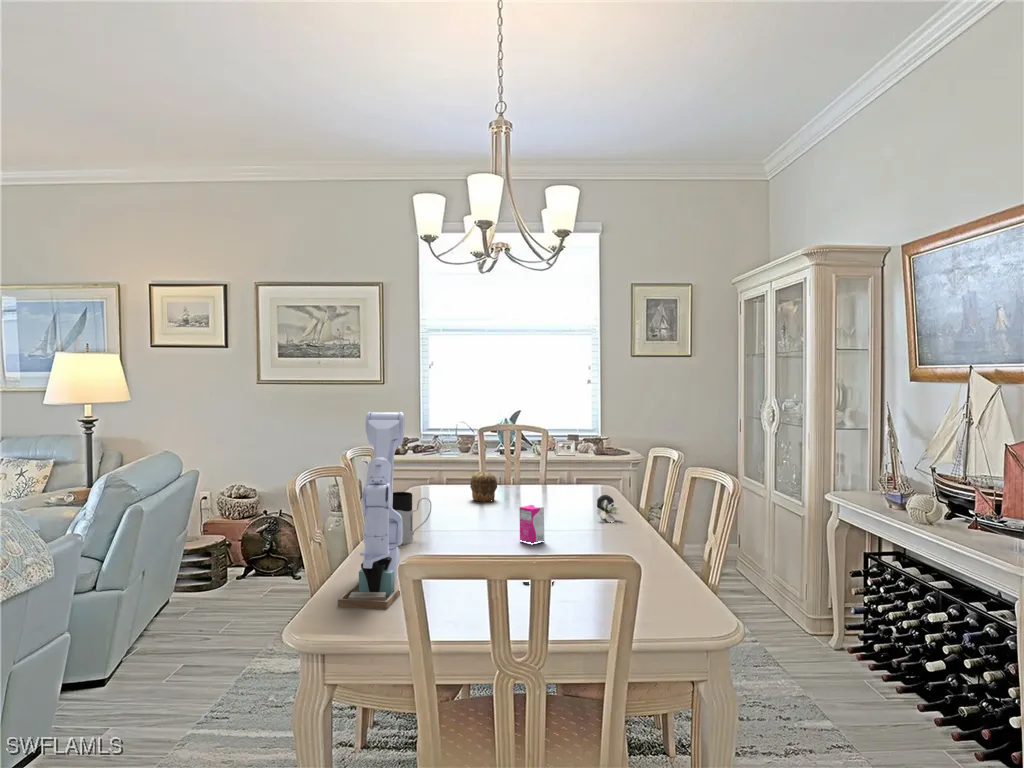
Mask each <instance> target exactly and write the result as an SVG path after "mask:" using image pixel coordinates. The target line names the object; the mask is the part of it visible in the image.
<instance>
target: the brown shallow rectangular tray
mask: <svg viewBox="0 0 1024 768" xmlns="http://www.w3.org/2000/svg"><path fill="white" fill-rule="evenodd" d="M351 592H359V581H358V582H356V583H354V585H352V587H350V588H349V589H348V590H347V591H345V593H343V594H342V596H340V597H339V598H337V607H343V608H344V607H346V608H358V609H359V608H362V609H363V608H365V609H379V610H380V609H383V610H387V609H389V608H390V606H392V605H393V604H394V602H395V601H396V600H397V599H398V598H399V597H400V595H401V594H400V591H399V586H398V587H397V588H396V589H394V592H393V593H392V595H391V596H388V598H386V601H376V600H356V599H349V596H350V594H351Z"/></svg>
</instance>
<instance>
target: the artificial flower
mask: <svg viewBox="0 0 1024 768" xmlns="http://www.w3.org/2000/svg"><path fill="white" fill-rule="evenodd" d="M614 502H615V501H614V499H613V497H612V496H610V495H608V494H604V495H600V496H599V497H598V498H597V499H596V507H597V508H596V511H595V512H596V514H597V516H599V518H600V519H601V520H606V522H608V523H610V522H611V521H615V522H616V518H615V517H614V516H613V515H612V514H614V513H616V512H617V511H618V510H619V509H620V507H619V506H618V505H614ZM611 513H612V514H611Z"/></svg>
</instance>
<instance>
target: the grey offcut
mask: <svg viewBox="0 0 1024 768" xmlns="http://www.w3.org/2000/svg"><path fill="white" fill-rule="evenodd" d="M349 599H356V600H376V601H386V600H387V596H386V592H359V591H357V592H351V594H350V596H349Z"/></svg>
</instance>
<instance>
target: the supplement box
mask: <svg viewBox="0 0 1024 768" xmlns="http://www.w3.org/2000/svg"><path fill="white" fill-rule="evenodd" d="M520 540H522V541H526V542H531V543H534V542H538V541H544V542H545V507H544V506H541V505H534V504H529V505H524V506H519V541H520Z"/></svg>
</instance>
